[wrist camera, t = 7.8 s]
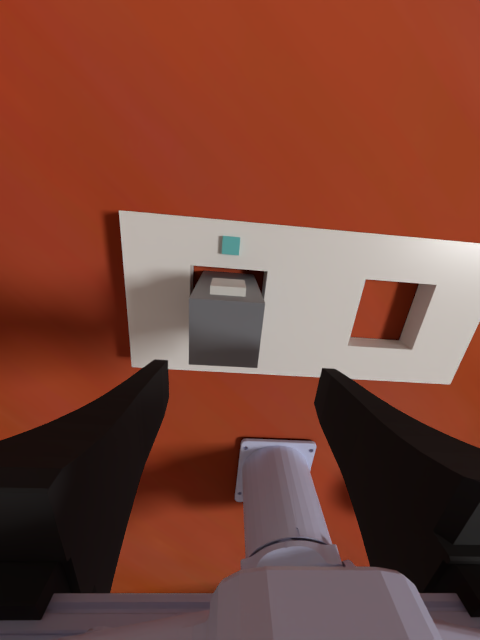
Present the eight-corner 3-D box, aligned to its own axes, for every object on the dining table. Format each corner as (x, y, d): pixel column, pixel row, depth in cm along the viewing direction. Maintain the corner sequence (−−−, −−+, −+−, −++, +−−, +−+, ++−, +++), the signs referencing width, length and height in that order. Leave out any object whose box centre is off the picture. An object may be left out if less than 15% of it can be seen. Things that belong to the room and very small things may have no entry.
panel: (435, 373, 24) (452, 386, 23) (139, 356, 23) (130, 369, 21) (491, 244, 20) (518, 247, 18) (129, 211, 18) (116, 210, 16)
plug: (248, 320, 22) (257, 367, 15) (202, 317, 22) (188, 364, 15) (254, 268, 20) (266, 294, 13) (203, 264, 20) (189, 288, 13)
